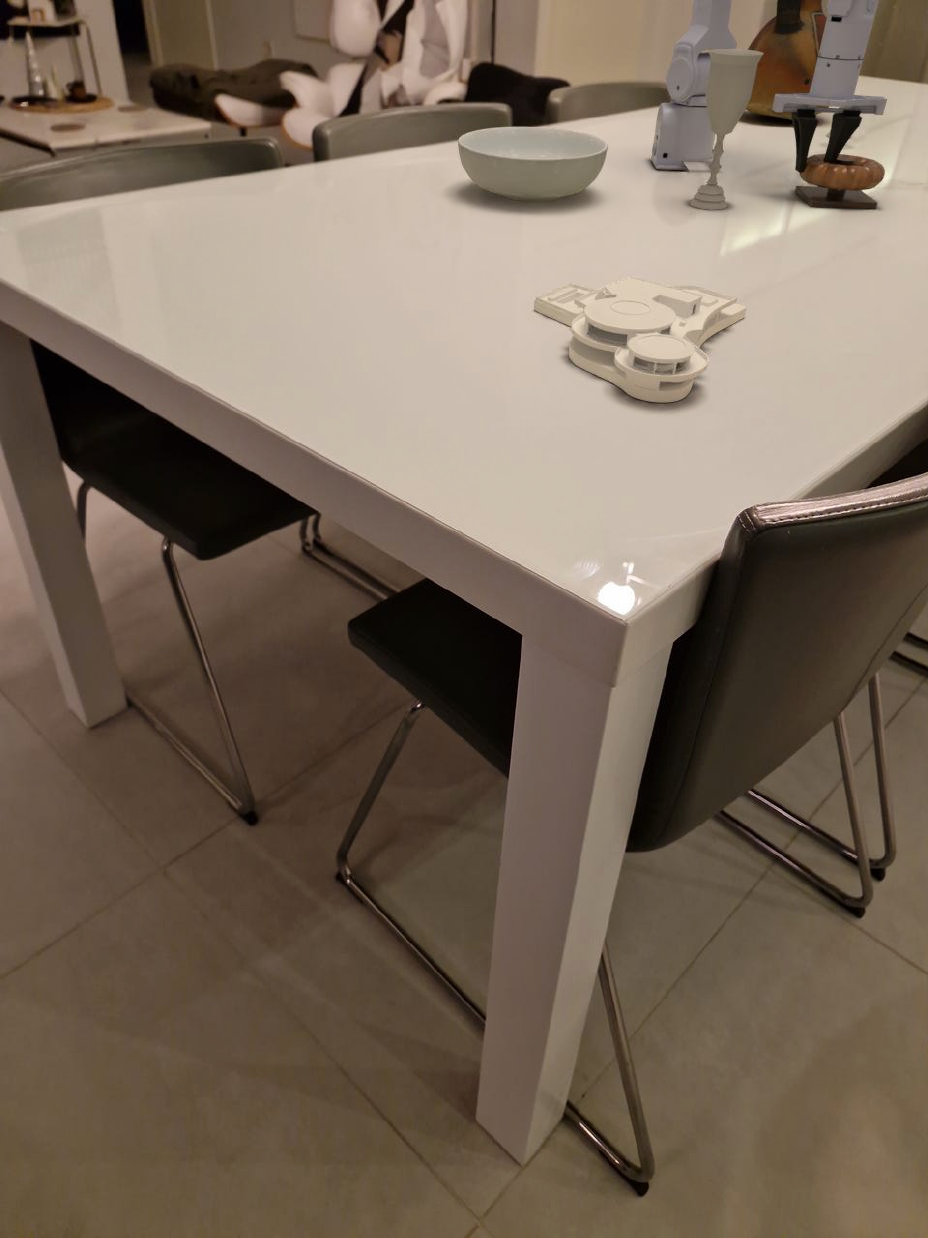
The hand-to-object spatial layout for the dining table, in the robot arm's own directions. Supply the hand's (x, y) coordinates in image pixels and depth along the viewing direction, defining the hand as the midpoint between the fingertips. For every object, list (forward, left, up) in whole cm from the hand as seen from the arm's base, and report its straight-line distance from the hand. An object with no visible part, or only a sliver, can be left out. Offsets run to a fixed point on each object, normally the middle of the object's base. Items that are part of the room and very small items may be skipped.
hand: (812, 171), depth 122 cm
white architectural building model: (-31, -56, -4) cm, 64 cm away
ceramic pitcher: (+12, +67, -4) cm, 68 cm away
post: (+4, 0, -4) cm, 5 cm away
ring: (+4, 0, 0) cm, 4 cm away
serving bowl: (-40, -2, -4) cm, 40 cm away
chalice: (-15, -5, -4) cm, 16 cm away
